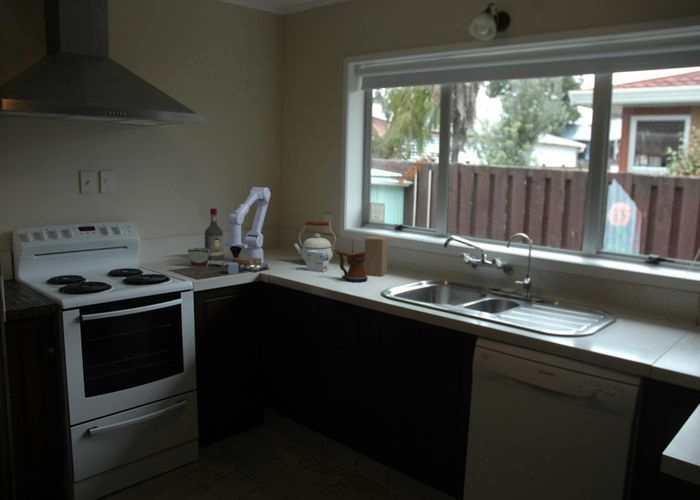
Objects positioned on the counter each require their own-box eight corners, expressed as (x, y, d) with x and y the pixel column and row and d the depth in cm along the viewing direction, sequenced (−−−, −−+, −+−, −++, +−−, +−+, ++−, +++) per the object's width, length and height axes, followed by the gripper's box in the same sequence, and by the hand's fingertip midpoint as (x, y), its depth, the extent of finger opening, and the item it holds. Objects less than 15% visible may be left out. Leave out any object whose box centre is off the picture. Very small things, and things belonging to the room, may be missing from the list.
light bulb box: (329, 270, 323) (329, 251, 322) (323, 272, 317) (323, 252, 316) (311, 268, 328) (312, 249, 326) (306, 270, 322) (306, 250, 320)
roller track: (235, 264, 334) (235, 259, 334) (269, 268, 323) (269, 263, 322) (220, 267, 323) (220, 262, 322) (255, 272, 311) (255, 267, 311)
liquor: (203, 258, 350) (203, 208, 345) (218, 257, 355) (217, 207, 351) (210, 261, 343) (209, 209, 338) (224, 259, 348) (224, 209, 343)
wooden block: (386, 273, 319) (388, 236, 316) (381, 276, 309) (383, 239, 306) (369, 271, 322) (370, 235, 319) (363, 275, 313) (364, 237, 310)
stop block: (227, 272, 312) (228, 274, 306) (227, 262, 311) (228, 264, 306) (237, 271, 313) (238, 273, 308) (237, 262, 313) (238, 264, 307)
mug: (330, 279, 300) (330, 250, 298) (342, 275, 310) (343, 247, 308) (359, 283, 291) (360, 253, 288) (371, 280, 300) (372, 251, 298)
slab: (243, 260, 330) (243, 256, 329) (261, 262, 324) (261, 258, 324) (232, 263, 321) (232, 258, 321) (250, 265, 316) (250, 260, 315)
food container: (213, 265, 329) (213, 247, 327) (209, 267, 323) (209, 249, 321) (191, 264, 330) (191, 246, 329) (187, 266, 324) (187, 248, 322)
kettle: (338, 261, 350) (339, 220, 347) (331, 267, 333) (332, 223, 329) (297, 259, 355) (298, 218, 351) (289, 264, 337) (289, 221, 333)
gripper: (220, 235, 323) (221, 259, 325) (241, 237, 316) (241, 262, 318) (229, 233, 329) (229, 257, 331) (249, 236, 322) (249, 260, 324)
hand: (235, 259), depth 325 cm, fingers closed
